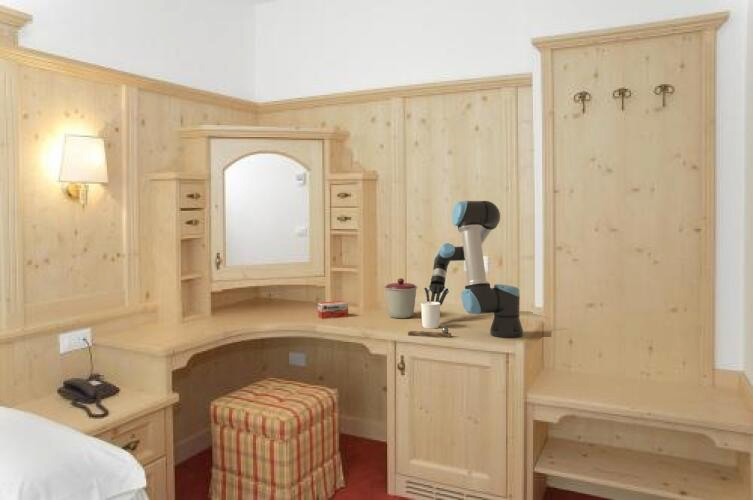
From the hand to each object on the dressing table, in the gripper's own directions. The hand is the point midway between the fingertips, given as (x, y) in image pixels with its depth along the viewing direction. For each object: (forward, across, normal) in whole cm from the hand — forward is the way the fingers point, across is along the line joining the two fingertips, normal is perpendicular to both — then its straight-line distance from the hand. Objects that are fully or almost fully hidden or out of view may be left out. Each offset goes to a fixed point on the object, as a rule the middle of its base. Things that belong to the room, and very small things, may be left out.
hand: (432, 315), depth 319 cm
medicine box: (-2, +57, -9) cm, 58 cm away
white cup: (+8, 0, +1) cm, 8 cm away
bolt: (+21, -12, +17) cm, 30 cm away
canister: (-8, +21, -15) cm, 27 cm away
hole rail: (+22, -4, +16) cm, 28 cm away
